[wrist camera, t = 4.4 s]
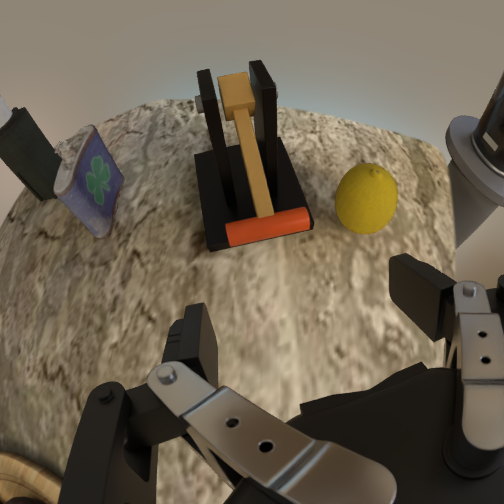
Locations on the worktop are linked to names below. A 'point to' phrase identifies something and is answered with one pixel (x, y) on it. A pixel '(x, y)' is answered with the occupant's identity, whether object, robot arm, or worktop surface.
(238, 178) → the black lever stand
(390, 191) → the lemon
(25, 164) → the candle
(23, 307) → the worktop surface
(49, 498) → the wooden plate
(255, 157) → the valve lever
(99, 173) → the flask
